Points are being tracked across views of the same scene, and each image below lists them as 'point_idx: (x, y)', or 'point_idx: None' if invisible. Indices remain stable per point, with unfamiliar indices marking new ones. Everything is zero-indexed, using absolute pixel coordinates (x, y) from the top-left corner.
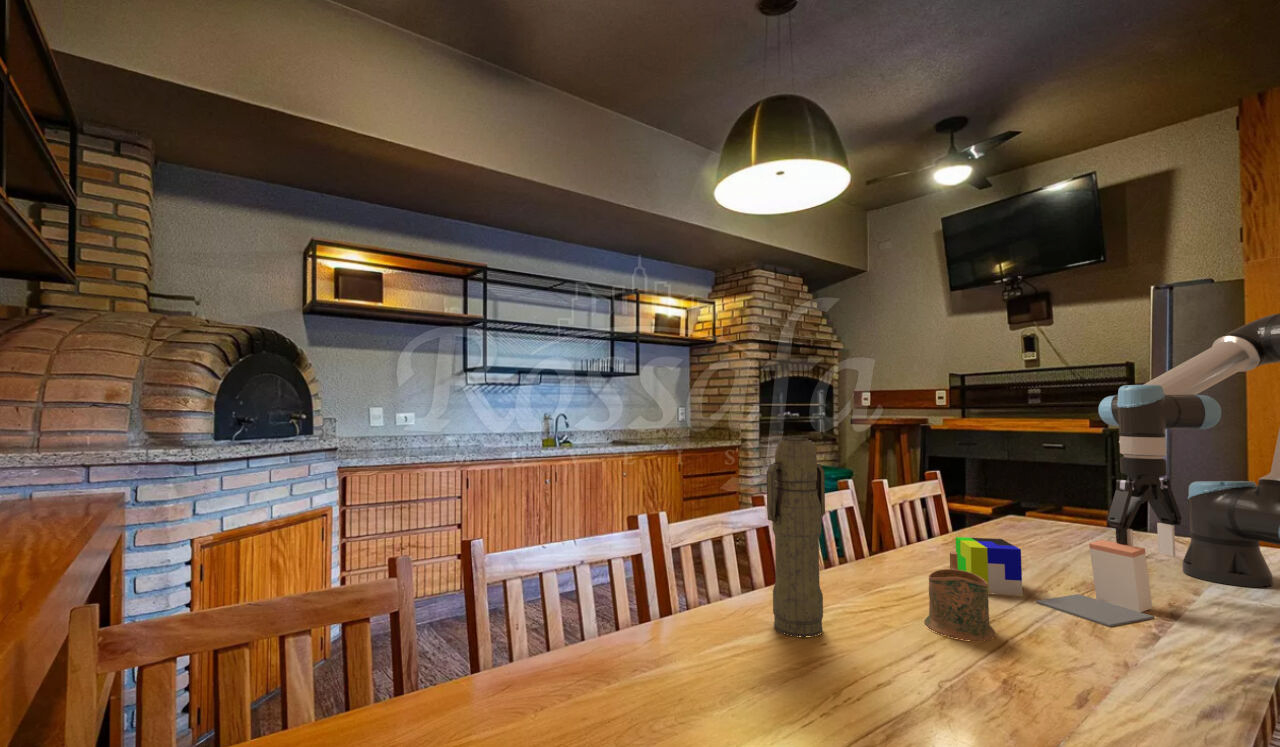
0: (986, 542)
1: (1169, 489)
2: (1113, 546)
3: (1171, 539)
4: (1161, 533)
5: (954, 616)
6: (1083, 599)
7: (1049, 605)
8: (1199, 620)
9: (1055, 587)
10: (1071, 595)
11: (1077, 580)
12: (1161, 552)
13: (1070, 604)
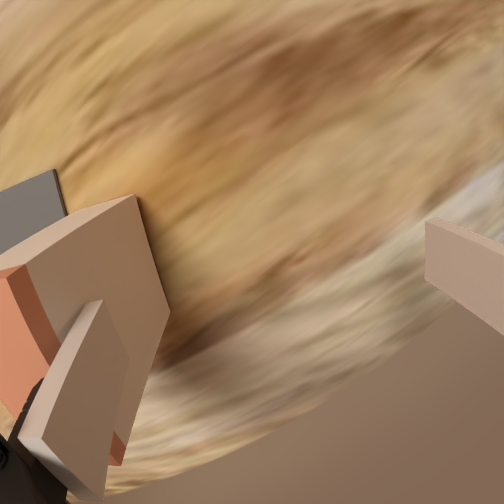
0: None
1: None
2: (12, 387)
3: (475, 311)
4: (501, 275)
5: None
6: (31, 222)
7: None
8: (223, 373)
9: (57, 78)
10: (23, 184)
11: (209, 8)
12: (430, 235)
13: None
